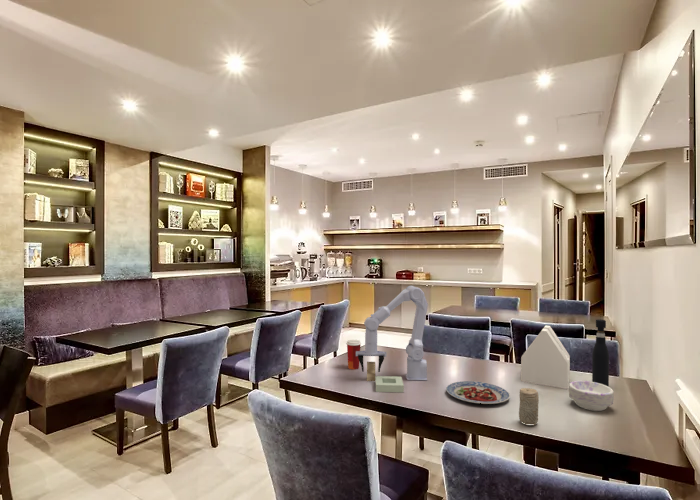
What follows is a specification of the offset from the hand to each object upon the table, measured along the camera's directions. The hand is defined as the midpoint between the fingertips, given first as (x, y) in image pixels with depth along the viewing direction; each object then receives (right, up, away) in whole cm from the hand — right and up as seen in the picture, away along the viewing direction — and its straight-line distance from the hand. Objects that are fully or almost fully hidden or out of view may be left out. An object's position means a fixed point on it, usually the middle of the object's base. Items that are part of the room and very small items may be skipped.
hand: (370, 371), depth 189 cm
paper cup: (-8, -4, +18) cm, 21 cm away
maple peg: (0, -4, 0) cm, 4 cm away
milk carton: (+83, -5, 0) cm, 83 cm away
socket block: (+8, -4, -10) cm, 13 cm away
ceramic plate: (+44, -5, -20) cm, 49 cm away
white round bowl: (+86, -5, -31) cm, 91 cm away
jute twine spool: (+54, -5, -46) cm, 71 cm away
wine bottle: (+105, -5, -7) cm, 105 cm away
